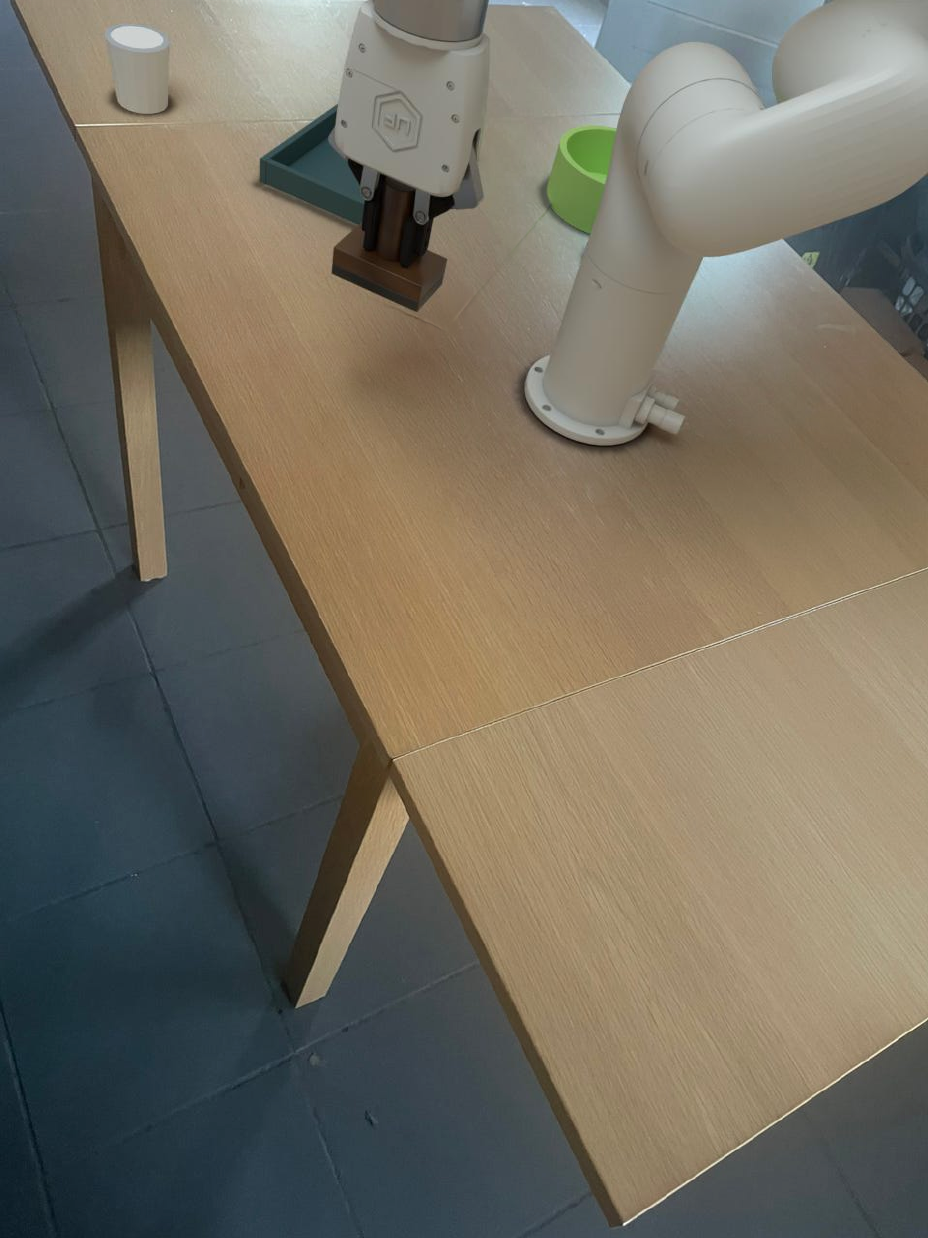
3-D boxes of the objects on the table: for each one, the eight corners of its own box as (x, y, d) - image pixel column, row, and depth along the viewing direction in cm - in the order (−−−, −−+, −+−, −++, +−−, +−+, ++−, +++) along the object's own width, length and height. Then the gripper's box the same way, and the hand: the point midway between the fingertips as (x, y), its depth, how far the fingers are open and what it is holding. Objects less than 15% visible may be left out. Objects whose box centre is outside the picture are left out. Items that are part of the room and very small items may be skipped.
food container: (536, 167, 116) (564, 61, 106) (644, 181, 119) (680, 79, 109) (575, 287, 101) (611, 178, 92) (696, 299, 105) (743, 194, 95)
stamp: (442, 284, 78) (461, 189, 72) (416, 312, 75) (434, 216, 68) (359, 247, 79) (371, 149, 72) (330, 273, 76) (340, 174, 69)
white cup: (105, 86, 107) (97, 21, 102) (165, 86, 110) (161, 22, 105) (119, 117, 104) (112, 51, 99) (180, 115, 107) (177, 51, 101)
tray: (471, 157, 114) (476, 133, 112) (384, 239, 100) (387, 214, 97) (360, 110, 116) (362, 85, 113) (259, 184, 101) (259, 157, 99)
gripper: (294, -31, 59) (282, 230, 74) (519, 64, 58) (462, 312, 72) (350, -58, 64) (329, 193, 78) (560, 29, 62) (499, 269, 77)
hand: (393, 248), depth 75 cm, fingers closed on stamp, 2 cm apart
